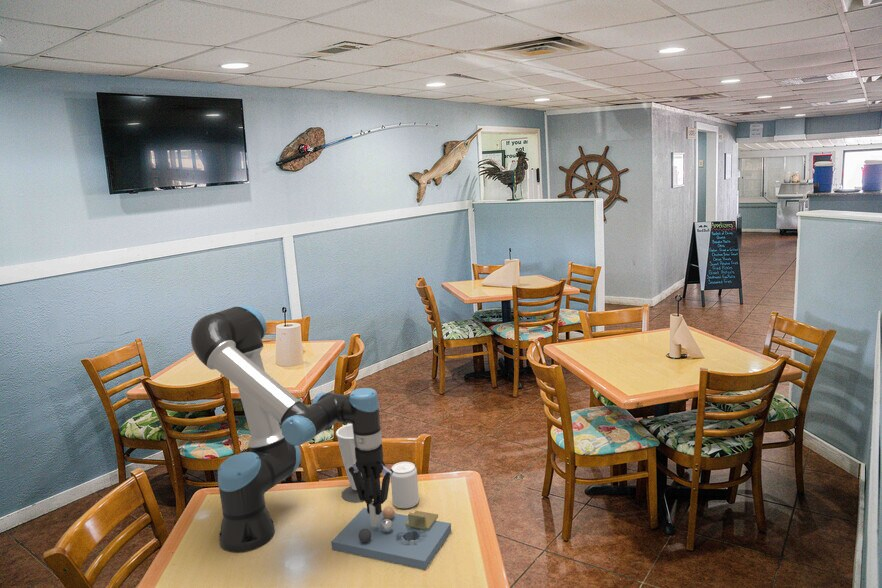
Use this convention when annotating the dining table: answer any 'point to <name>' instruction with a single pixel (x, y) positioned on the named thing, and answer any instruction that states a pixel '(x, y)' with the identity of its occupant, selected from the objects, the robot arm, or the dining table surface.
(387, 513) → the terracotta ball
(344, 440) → the cup
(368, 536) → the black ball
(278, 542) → the dining table surface
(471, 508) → the dining table surface
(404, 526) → the grey flat board
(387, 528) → the steel ball
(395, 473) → the beverage can
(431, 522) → the brass cover
